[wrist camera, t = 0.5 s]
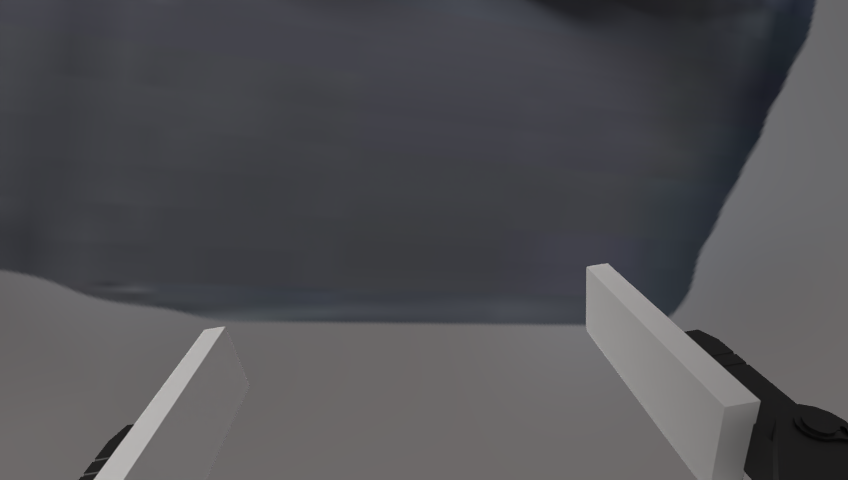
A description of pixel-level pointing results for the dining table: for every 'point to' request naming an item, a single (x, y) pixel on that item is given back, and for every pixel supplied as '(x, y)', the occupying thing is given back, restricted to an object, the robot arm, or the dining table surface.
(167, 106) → the dining table surface
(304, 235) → the dining table surface
